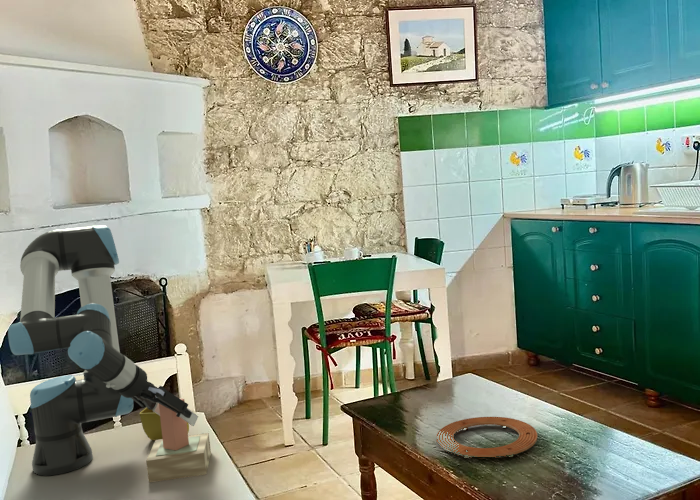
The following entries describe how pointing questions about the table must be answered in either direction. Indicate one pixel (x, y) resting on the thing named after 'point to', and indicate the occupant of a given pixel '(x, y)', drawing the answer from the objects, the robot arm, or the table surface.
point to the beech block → (179, 459)
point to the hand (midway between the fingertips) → (183, 419)
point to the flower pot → (151, 424)
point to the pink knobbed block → (173, 429)
